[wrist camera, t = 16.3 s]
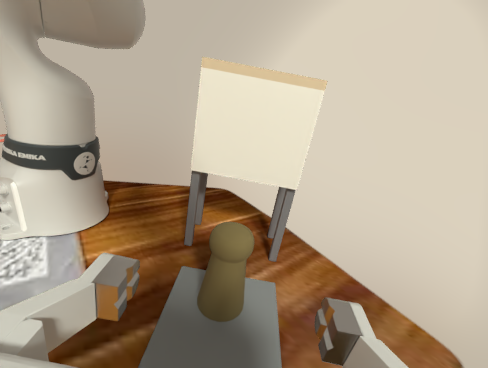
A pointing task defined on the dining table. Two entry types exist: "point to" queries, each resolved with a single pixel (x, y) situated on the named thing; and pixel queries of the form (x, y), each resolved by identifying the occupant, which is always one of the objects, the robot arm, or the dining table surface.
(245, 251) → the olive pear shape
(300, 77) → the cabinet
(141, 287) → the dining table surface
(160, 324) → the mat
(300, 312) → the dining table surface
